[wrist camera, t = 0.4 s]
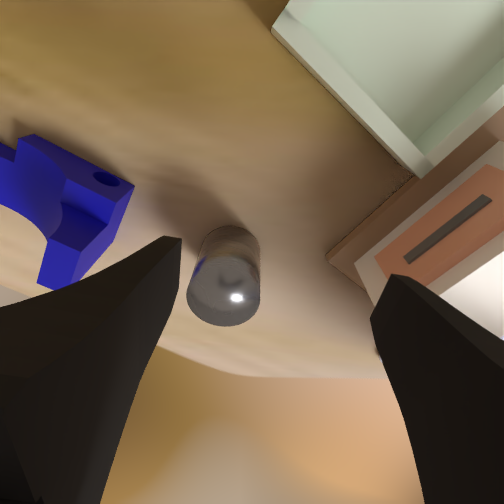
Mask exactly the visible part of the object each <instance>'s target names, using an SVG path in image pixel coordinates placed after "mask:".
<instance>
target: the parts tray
mask: <svg viewBox="0 0 504 504" xmlns="http://www.w3.org/2000/svg"><path fill="white" fill-rule="evenodd" d="M271 33H272V34H273V35H274V36H275V37H276V38H277V39H278V40H279V41H280V43H281V44H282V45H283V46H284V47H285V48H286V49H287V50H288V51H289V52H290V53H291V54H292V55H293V56H294V57H295V58H296V59H297V60H298V61H299V62H300V63H301V64H302V65H303V66H304V67H305V68H306V69H307V70H308V71H309V72H310V73H311V74H312V75H313V76H314V77H315V78H316V79H317V80H318V81H319V82H320V83H321V84H322V85H323V86H324V87H325V88H326V89H327V90H328V91H329V92H330V93H331V94H332V95H333V96H334V97H335V98H336V99H337V101H338V102H339V103H340V104H341V105H342V106H343V107H344V108H345V109H346V110H347V111H348V112H349V113H350V114H351V115H352V116H353V117H354V118H355V119H356V120H357V121H358V122H359V123H360V124H361V125H362V126H363V127H364V128H365V129H366V130H367V131H368V132H369V133H370V134H371V135H372V136H373V137H374V138H375V139H376V140H377V141H378V142H379V143H380V144H381V145H382V146H383V147H384V148H385V149H386V150H387V151H388V152H389V153H390V154H391V155H392V156H393V157H394V159H395V160H396V161H397V162H398V163H399V164H400V165H401V166H403V167H404V168H405V169H407V170H408V171H410V172H411V173H413V174H414V175H416V176H417V177H419V178H420V179H422V178H423V177H424V176H425V175H426V174H427V173H428V172H429V171H431V170H432V169H433V168H434V167H435V166H436V165H437V164H439V163H440V162H441V161H442V160H443V159H444V158H445V157H446V156H448V155H449V154H450V153H451V152H452V151H453V150H454V149H455V148H457V147H458V146H459V145H460V144H461V143H462V142H463V141H465V140H466V139H467V138H468V137H469V136H470V135H471V134H472V133H474V132H475V131H476V130H477V129H478V128H479V127H480V126H481V125H483V124H484V123H485V122H486V121H487V120H488V119H489V118H491V117H492V116H493V115H494V114H495V113H496V112H497V111H498V110H500V109H501V108H502V107H503V106H504V0H290V1H289V2H288V4H287V5H286V7H285V8H284V10H283V11H282V13H281V14H280V15H279V17H278V18H277V20H276V21H275V23H274V24H273V26H272V29H271Z"/></svg>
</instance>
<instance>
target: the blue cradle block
mask: <svg viewBox="0 0 504 504" xmlns="http://www.w3.org/2000/svg"><path fill="white" fill-rule="evenodd" d="M134 187H135V186H134V185H132V184H130V183H128V182H126V181H124V180H123V179H121V178H119V177H117V176H115V175H113V174H111V173H109V172H107V171H105V170H103V169H101V168H99V167H97V166H95V165H93V164H92V163H90V162H88V161H86V160H84V159H82V158H80V157H78V156H76V155H74V154H72V153H70V152H68V151H66V150H64V149H62V148H61V147H59V146H57V145H55V144H53V143H51V142H49V141H47V140H45V139H43V138H41V137H39V136H37V135H35V134H32V135H29V136H25V137H21V138H18V144H17V150H14V149H12V148H10V147H8V146H6V145H4V144H2V143H0V204H1V205H4V206H6V207H8V208H10V209H12V210H14V211H16V212H18V213H19V214H21V215H23V216H24V217H26V218H27V219H28V220H30V221H31V222H32V223H33V224H34V225H36V226H37V227H38V228H39V230H40V231H41V232H42V233H43V235H44V236H45V238H46V240H47V246H46V250H45V253H44V257H43V261H42V265H41V268H40V272H39V276H38V279H37V283H38V284H40V285H42V286H45V287H47V288H50V289H52V290H57V289H60V288H63V287H65V286H68V285H70V284H73V283H75V282H78V281H79V280H80V279H81V278H82V277H83V276H84V274H85V273H86V272H87V271H88V270H89V269H90V268H91V266H92V265H93V264H94V263H95V262H96V261H97V259H98V258H99V257H100V256H101V255H102V254H103V253H104V251H105V250H106V249H107V248H108V247H109V246H110V244H111V243H112V242H113V240H114V238H115V235H116V233H117V230H118V228H119V225H120V223H121V220H122V218H123V215H124V213H125V210H126V207H127V205H128V202H129V200H130V197H131V195H132V192H133V190H134Z"/></svg>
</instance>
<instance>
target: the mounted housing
mask: <svg viewBox="0 0 504 504" xmlns="http://www.w3.org/2000/svg"><path fill="white" fill-rule="evenodd" d="M326 258H327V261H328V262H329V263H330V264H332V265H333V266H334V267H335V268H337V269H338V270H339V271H340V272H342V273H343V274H344V275H346V276H347V277H348V278H349V279H351V280H352V281H353V282H355V283H356V284H357V285H358V286H360V287H361V288H362V289H364V290H365V291H366V292H367V293H368V294H369V297H370V299H371V301H372V303H373V305H374V307H375V306H376V304H377V302H378V300H379V298H380V296H381V294H382V292H383V290H384V287H385V285H386V283H387V281H388V279H389V277H390V275H391V273H392V274H398V275H404V276H409V277H411V278H412V279H414V280H416V281H418V282H419V283H421V284H422V285H424V286H425V287H427V288H428V289H430V290H431V291H432V292H434V293H435V294H437V295H438V296H439V297H441V298H442V299H444V300H445V301H446V302H448V303H449V304H451V305H452V306H453V307H455V308H456V309H458V310H459V311H460V312H462V313H463V314H465V315H466V316H468V317H469V318H470V319H472V320H473V321H475V322H476V323H478V324H479V325H481V326H482V327H484V328H485V329H487V330H488V331H490V332H491V333H493V334H494V335H496V336H497V337H499V338H500V337H502V336H504V106H503V107H502V108H501V109H500V110H498V111H497V112H496V113H495V114H494V115H493V116H492V117H491V118H489V119H488V120H487V121H486V122H485V123H484V124H483V125H481V126H480V127H479V128H478V129H477V130H476V131H475V132H474V133H472V134H471V135H470V136H469V137H468V138H467V139H466V140H465V141H463V142H462V143H461V144H460V145H459V146H458V147H457V148H455V149H454V150H453V151H452V152H451V153H450V154H449V155H448V156H446V157H445V158H444V159H443V160H442V161H441V162H440V163H439V164H437V165H436V166H435V167H434V168H433V169H432V170H431V171H429V172H428V173H427V174H426V175H425V176H424V177H423V178H422V179H420V178H419V177H417V176H416V175H414V176H413V177H412V178H411V179H410V180H409V181H407V182H406V183H405V184H404V185H403V186H402V187H401V188H400V189H399V190H397V191H396V192H395V193H394V194H393V195H392V196H391V197H390V198H389V199H387V200H386V201H385V202H384V203H383V204H382V205H381V206H380V207H379V208H377V209H376V210H375V211H374V212H373V213H372V214H371V215H370V216H368V217H367V218H366V219H365V220H364V221H363V222H362V223H361V224H360V225H358V226H357V227H356V228H355V229H354V230H353V231H352V232H351V233H350V234H348V235H347V236H346V237H345V238H344V239H343V240H342V241H341V242H340V243H338V244H337V245H336V246H335V247H334V248H333V249H332V250H331V251H330V252H328V253H327V254H326Z"/></svg>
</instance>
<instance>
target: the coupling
mask: <svg viewBox="0 0 504 504" xmlns="http://www.w3.org/2000/svg"><path fill="white" fill-rule="evenodd" d="M186 298H187V302H188V305H189V307H190V309H191V310H192V312H193V313H194V314H195V315H196V316H197V317H198V318H200V319H201V320H203V321H205V322H207V323H209V324H213V325H217V326H235V325H239V324H242V323H244V322H246V321H247V320H249V319H250V318H251V317H252V316H253V315H254V314H255V313H256V311H257V310H258V307H259V304H260V246H259V244H258V242H257V240H256V238H255V237H254V236H253V235H252V234H251V233H250V232H248V231H246V230H245V229H242V228H239V227H235V226H224V227H220V228H217V229H215V230H213V231H212V232H211V233H209V234H208V235H207V237H206V238H205V240H204V242H203V245H202V248H201V251H200V253H199V256H198V259H197V262H196V265H195V268H194V271H193V274H192V277H191V280H190V283H189V286H188V289H187V293H186Z"/></svg>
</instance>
